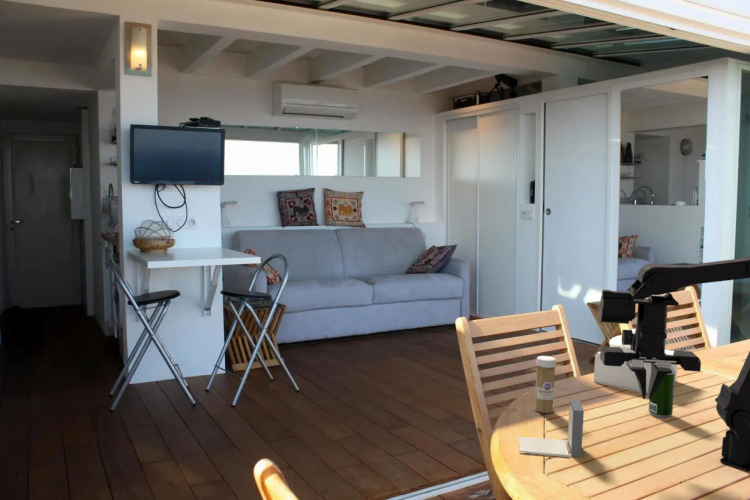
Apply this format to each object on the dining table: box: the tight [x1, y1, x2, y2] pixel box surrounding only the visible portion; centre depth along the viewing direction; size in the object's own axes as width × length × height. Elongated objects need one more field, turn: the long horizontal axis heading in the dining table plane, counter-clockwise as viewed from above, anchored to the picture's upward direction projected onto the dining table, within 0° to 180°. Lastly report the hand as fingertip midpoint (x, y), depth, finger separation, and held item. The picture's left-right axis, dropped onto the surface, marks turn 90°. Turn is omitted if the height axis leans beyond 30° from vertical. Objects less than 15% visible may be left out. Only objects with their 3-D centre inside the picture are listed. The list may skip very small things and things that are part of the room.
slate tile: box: [567, 398, 585, 458], centre depth 143 cm, size 2×7×10 cm, turn 170°
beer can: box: [648, 366, 676, 419], centre depth 166 cm, size 5×5×12 cm
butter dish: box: [593, 328, 678, 395], centre depth 192 cm, size 18×18×16 cm
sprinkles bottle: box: [534, 355, 557, 414], centre depth 167 cm, size 5×5×13 cm
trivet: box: [517, 436, 570, 458], centre depth 145 cm, size 10×8×1 cm
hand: (646, 398), depth 141 cm, fingers closed
